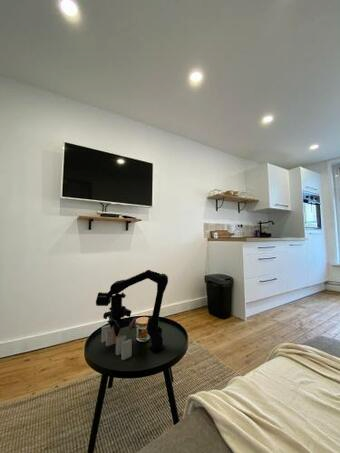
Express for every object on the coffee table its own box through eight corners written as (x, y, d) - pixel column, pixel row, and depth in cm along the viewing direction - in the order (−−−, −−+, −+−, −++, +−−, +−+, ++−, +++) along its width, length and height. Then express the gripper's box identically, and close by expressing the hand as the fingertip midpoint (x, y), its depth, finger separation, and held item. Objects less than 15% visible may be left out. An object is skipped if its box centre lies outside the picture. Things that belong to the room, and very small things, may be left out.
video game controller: (145, 330, 133) (147, 319, 136) (142, 330, 129) (144, 318, 132) (131, 328, 136) (133, 317, 139) (128, 328, 132) (131, 316, 135)
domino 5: (131, 356, 102) (131, 340, 103) (122, 360, 99) (123, 343, 99) (129, 354, 103) (130, 338, 104) (121, 358, 100) (121, 342, 100)
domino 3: (121, 340, 111) (121, 325, 111) (112, 343, 107) (113, 327, 108) (119, 339, 112) (119, 324, 112) (111, 342, 108) (111, 326, 109)
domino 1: (110, 339, 118) (110, 325, 119) (102, 342, 115) (102, 328, 115) (109, 338, 119) (109, 324, 120) (101, 341, 116) (101, 327, 116)
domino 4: (125, 351, 106) (125, 336, 107) (117, 355, 103) (117, 339, 103) (124, 350, 107) (124, 334, 108) (115, 354, 104) (116, 337, 104)
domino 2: (115, 343, 114) (115, 328, 115) (107, 346, 111) (107, 331, 111) (113, 342, 115) (114, 327, 116) (105, 345, 112) (106, 330, 112)
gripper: (138, 306, 109) (138, 336, 108) (120, 298, 122) (120, 325, 122) (120, 312, 101) (119, 344, 101) (103, 302, 115) (102, 331, 114)
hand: (115, 335), depth 109 cm, fingers closed on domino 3, 2 cm apart
